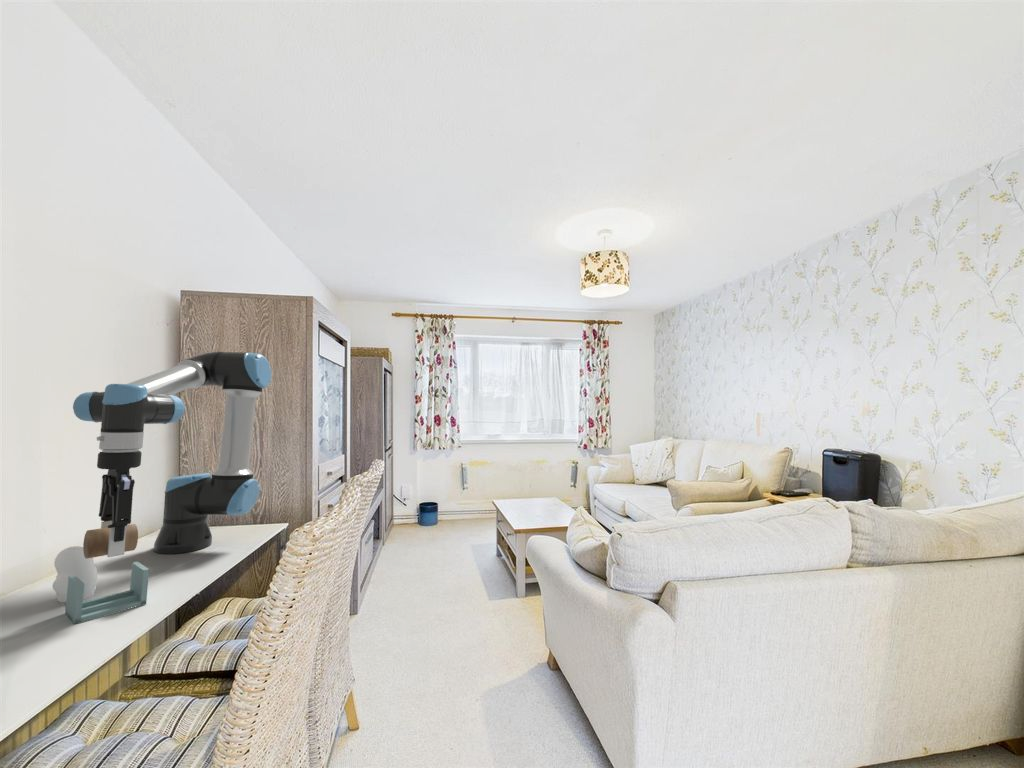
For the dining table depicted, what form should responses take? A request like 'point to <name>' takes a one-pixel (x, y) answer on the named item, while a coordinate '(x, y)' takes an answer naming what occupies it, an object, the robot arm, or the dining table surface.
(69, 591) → the cradle
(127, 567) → the dining table surface
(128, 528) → the roll
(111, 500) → the robot arm
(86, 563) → the figurine
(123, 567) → the dining table surface
